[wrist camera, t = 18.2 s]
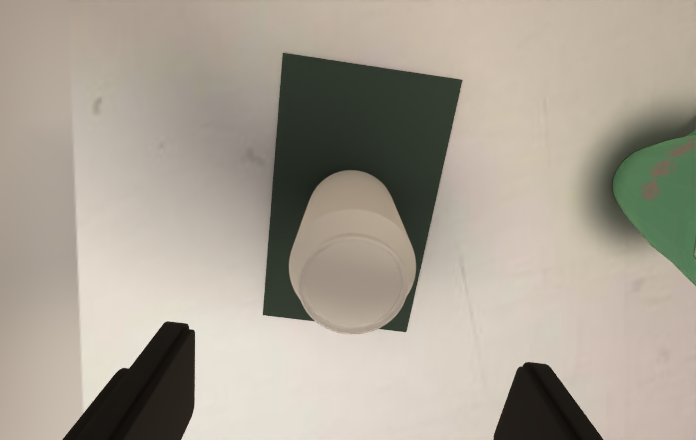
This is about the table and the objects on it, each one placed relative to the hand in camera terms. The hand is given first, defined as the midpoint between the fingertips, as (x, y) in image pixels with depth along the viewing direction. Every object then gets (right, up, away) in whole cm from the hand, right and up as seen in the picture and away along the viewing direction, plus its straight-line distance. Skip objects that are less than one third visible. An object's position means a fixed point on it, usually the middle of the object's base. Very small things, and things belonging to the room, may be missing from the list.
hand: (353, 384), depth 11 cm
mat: (0, +6, +17) cm, 18 cm away
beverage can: (0, +6, +17) cm, 18 cm away
